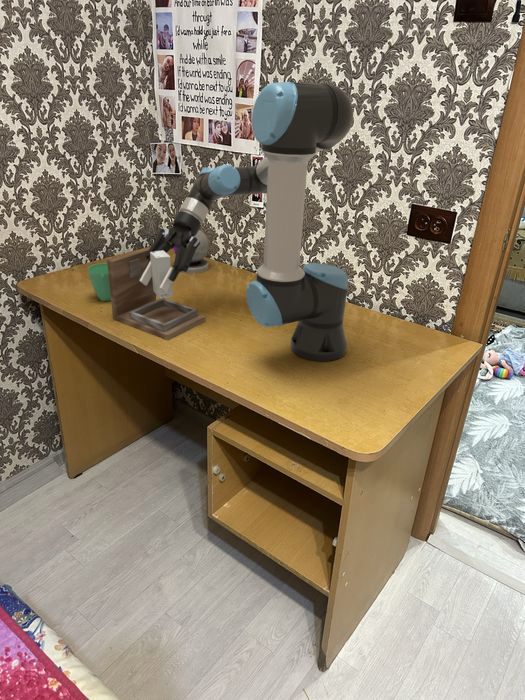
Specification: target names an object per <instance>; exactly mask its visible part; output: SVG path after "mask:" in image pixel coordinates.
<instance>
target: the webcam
mask: <svg viewBox="0 0 525 700" xmlns="http://www.w3.org/2000/svg"><path fill="white" fill-rule="evenodd" d="M194 237H196V238H197V239H198V240H199V241H200V245H199V246H198V247H197V249H196V251H195V253H194V256H193V258H192V260H191V263H190V265H189V268H188V270H187V271H186V272H184V271H181V273H184V274H197V273H202V272H206V271H207V270H208V269H209V267H210V266H209V264H210V263H209V262H208V261H207V260H206V259H204V258H206V256H207V255H208V252H209V248H210V244H209V243H210V242H209V239H208V238H207V235H206V234H205V233H204V232H203V231H202V230H200V229H199V231H198V233H197V234H196V235H195V236H194ZM188 244H189V243H188ZM188 244H187V247H188ZM173 251H174V254H175V255H176V251H177V246H175V247H174V248H173ZM185 252H186V251H185Z"/></svg>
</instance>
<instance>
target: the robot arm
mask: <svg viewBox="0 0 525 700" xmlns="http://www.w3.org/2000/svg"><path fill="white" fill-rule="evenodd" d="M353 121H354V108H353V103H352V101H351V99H350V97H349V95H348V93H346V92H345V91H344V90H343V89H342V88H341V87H339V86H337V85H335V84H331V83H314V82H313V83H312V82H311V83H310V82H292V81H282V82H281V81H280V82H272V83H269V84H267V85H265V86H263V88H262V89H261V90H260V92H259V94H258V95H257V97H256V99H255V101H254V104H253V108H252V115H251V127H252V128H251V129H252V130H253V136H254V138H255V140H256V141H257V142H258V143H260V144H261V152H262V153H263V154H264V156H265V157H264V158H262V159H261V160H260V161H259V162H258V163H256V164H255V165H253V166H233V165H231V164H222V165H219V166H217V167H214V168H213V167H208V166H207V167H203V168H202V169H201V170H200V173H199V174H198V175H197V176H196V179H195V181H194V183H193V185H192V187H190V190H189V192H188V194H187V195H186V197H185V199H184V201H183V203H182V204H181V206H180V207H179V211H178V212H177V214H176V215H175V217H174V219H173V220H172V227H170V229H168V230H165V229H164V228H161V229H160V230H159V234H158V236H157V237H156V238H155V240H154V242H153V243H152V244H151V245H150V247H149V248H150V249H149V250H148V252H147V253H146V255H145V257H146V258H147V259H148V263H147V265H146V267H145V269H144V273H143V275H142V277H141V279H140V280H139V281H140V282H142V283H143V284H144V285H146V286H147V284H148V282H149V281H150V279H151V277H152V269H151V259H150V252H154V251H165V252H166V253H167V254H168V252H169V251H170V250H172V249H173V250H174V247H175V246H177V251H176V254H175V258H174V261H173V264H171V267H170V269H169V271H168V273H167V274H166V276H165V278H164V280H163V282H162V284H161V285H160V288H161V289H162V290H163V291H164V292H167V291H168V289H169V287H170V285H171V283H172V284H173V282H175V281H176V280H177V278H178V275H179V274H180V273H182V271H184V272H186V271H187V270H188V268H189V265H190V263H191V260H192V258H193V256H194V253H195V251H196V249H197V247H198V246H199V245H200V241H199V240H198V239H197V238H196V237H194V236H195V235H196V234H197V233H198V231H199V230H200V229H201V227H202V224H203V223H204V221H205V220H206V217H207V216H208V214H209V212H210V210H211V208H212V206H213V205H214V203H215V201H217V200H219V199H222V198H225V197H231V196H232V197H235V196H245V195H257V194H258V195H260V194H264V195H265V194H266V200H265V201H266V203H265V204H266V205H265V206H266V207H265V224H264V226H265V227H264V247H263V263H262V265H260V266H259V267H258V268H257V270H256V280H252V281H250V283H248V285H247V287H246V293H245V296H246V301H247V306H248V309H249V311H250V313H251V316H252V317H253V319H254V320H255V322H256V323H257V324H259V325H260V326H261V327H264V328H271V327H281V326H283V325H287V324H290V323H291V324H292V323H297V325H296V326H295V328H294V331H293V333H292V335H291V338H290V350H291V351H292V352H293V353H294V354H295V355H297V356H298V357H300V358H303V359H306V360H309V361H315V362H331V360H332V361H336V360H339V359H341V358H342V357H344V356H345V355H344V354H346V353H345V352H347V343H348V342H347V339H346V334H345V330H344V325H343V324H344V315H345V308H346V302H347V295H348V294H347V293H348V289H349V287H348V281H349V280H348V279H349V276H348V274H347V272H346V271H344V270H343V269H342V268H339V267H336V266H334V265H331V264H327V263H319V262H308V263H306V264H304V266H303V267H301V266H300V263H301V260H300V259H301V250H302V248H301V247H302V236H303V225H304V224H303V223H304V213H305V212H304V211H305V201H306V200H305V198H306V188H307V187H306V186H307V175H308V165H309V164H308V163H309V161H310V160H311V159H312V158H314V156H315V155H317V154H319V152H320V151H327V150H330V149H332V148H333V147H335V146H336V145H338V144H339V143H340V142H341V141H342V140H343V139H345V137H346V136H347V135H348V133H349V132H350V130H351V129H352V126H353ZM188 243H189V244H188ZM187 244H188V247H187ZM185 251H186V252H185ZM184 272H183V273H184ZM343 355H344V356H343ZM340 357H341V358H340ZM338 358H339V359H338Z"/></svg>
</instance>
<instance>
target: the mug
mask: <svg viewBox="0 0 525 700" xmlns="http://www.w3.org/2000/svg"><path fill="white" fill-rule="evenodd" d="M87 273H88V276H89V279H90V282H91V284H92V287H93V289H94V292H95V294H96V295H97V298H98V299H99V301H102V302H109V300H110V301H111V295H110V285H109V275H108V265H107V262H106V263H104V262H103V263H95V264H92V265H90V266H89V267H88V268H87Z"/></svg>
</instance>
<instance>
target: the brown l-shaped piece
mask: <svg viewBox="0 0 525 700" xmlns="http://www.w3.org/2000/svg"><path fill="white" fill-rule="evenodd" d="M149 249H150V247H146V248H143V249H139V250H136V251H133V252H129V253H126V254H123V255H120V256H116V257H114V258H110V259H107V260H106V261H107V262H106V263H107V265H108V275H109V285H110V295H111V300H110V302H111V314H112V315H111V316H112V319H113V320H115V321H117V322H120V323H123V324H125V325H128V326H129V327H133V328H135V329H138V330H141V331H143V332H146V333H148V334H151V335H154V336H155V337H159V338H161V339H164V340H167V341H170V340H171V339H173V338H176V337H177V336H179V335H181V334H183V333H185V332H187V331H189V330H191V329H193V328H195V327H197V326H199V325H201V324H204V323H205V322H206V316H204V315H202V314H199V311H198V309H197V308H194V307H190V306H188V305H184V304H182V303H179V302H176V301H173V300H170V299H168V298H159V299H157V295H156V294H155V293H154V291H153V280H152V277H151V279H150V281H149V282H148V284H147V286H146V285H144V284H143V283H142V282H140V281H139V280H140V279H141V277H142V275H143V273H144V269H145V267H146V265H147V263H148V259H147V258H146V257H145V255H146V253H147V252H148V250H149Z"/></svg>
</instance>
